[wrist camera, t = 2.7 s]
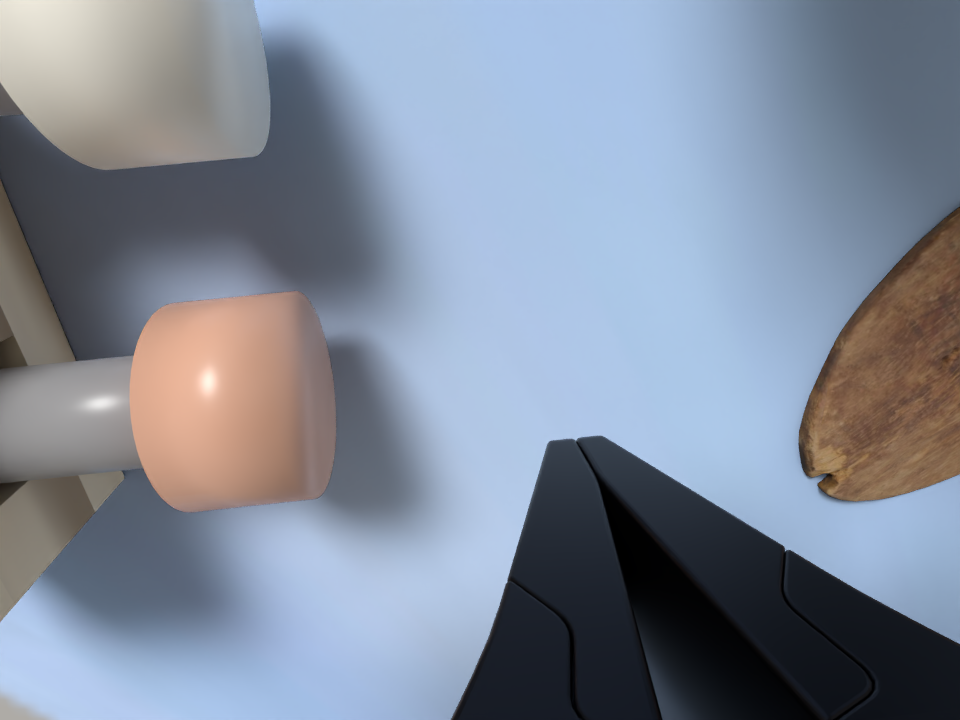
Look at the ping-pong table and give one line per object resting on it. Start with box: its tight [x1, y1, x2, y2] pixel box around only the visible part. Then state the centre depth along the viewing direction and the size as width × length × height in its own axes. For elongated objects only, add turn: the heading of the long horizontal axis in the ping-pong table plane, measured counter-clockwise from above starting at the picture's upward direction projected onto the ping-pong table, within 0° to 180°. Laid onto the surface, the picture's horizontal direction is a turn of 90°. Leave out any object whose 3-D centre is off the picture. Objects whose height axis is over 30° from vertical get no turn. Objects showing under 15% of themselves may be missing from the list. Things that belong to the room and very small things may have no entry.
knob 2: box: [0, 291, 336, 512], centre depth 12 cm, size 7×4×4 cm, turn 95°
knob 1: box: [0, 0, 271, 170], centre depth 9 cm, size 7×4×4 cm, turn 95°
